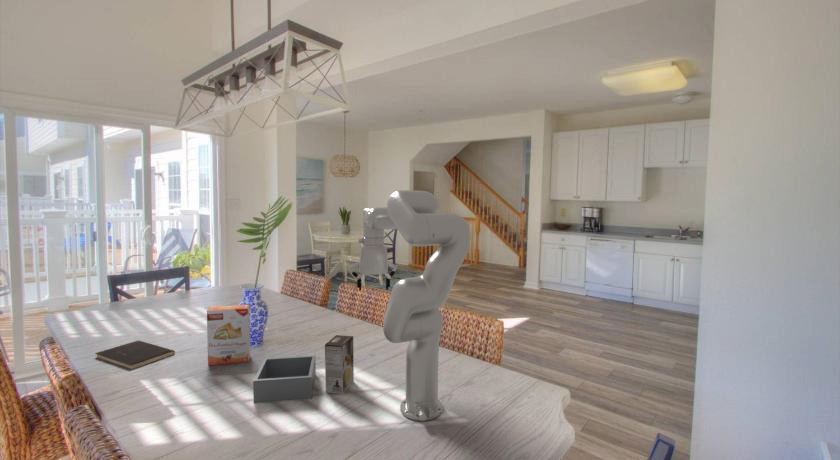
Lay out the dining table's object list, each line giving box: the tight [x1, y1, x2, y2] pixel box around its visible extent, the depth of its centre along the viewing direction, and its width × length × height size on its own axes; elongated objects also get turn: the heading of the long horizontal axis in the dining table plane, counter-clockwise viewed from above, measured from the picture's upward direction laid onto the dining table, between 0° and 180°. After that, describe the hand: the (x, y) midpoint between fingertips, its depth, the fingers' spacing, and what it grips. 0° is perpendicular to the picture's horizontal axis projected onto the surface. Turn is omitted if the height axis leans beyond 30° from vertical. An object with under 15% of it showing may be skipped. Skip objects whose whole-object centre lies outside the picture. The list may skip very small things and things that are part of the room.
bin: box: [252, 355, 317, 404], centre depth 131 cm, size 17×17×7 cm
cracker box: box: [206, 304, 251, 366], centre depth 151 cm, size 14×6×21 cm, turn 106°
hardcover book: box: [95, 339, 176, 370], centre depth 156 cm, size 16×23×2 cm
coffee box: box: [324, 334, 355, 395], centre depth 132 cm, size 9×6×16 cm
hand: (373, 289), depth 145 cm, fingers open, 9 cm apart
